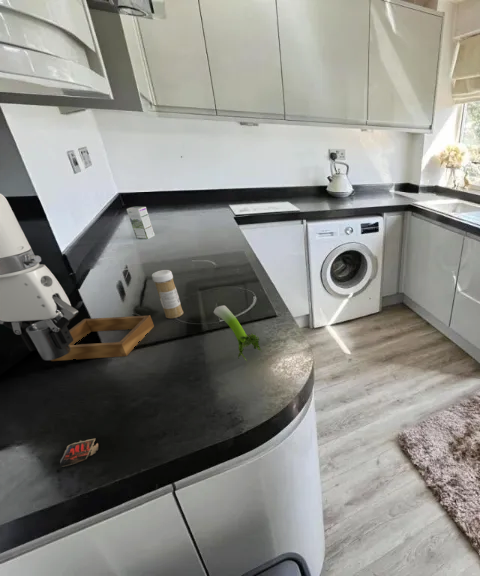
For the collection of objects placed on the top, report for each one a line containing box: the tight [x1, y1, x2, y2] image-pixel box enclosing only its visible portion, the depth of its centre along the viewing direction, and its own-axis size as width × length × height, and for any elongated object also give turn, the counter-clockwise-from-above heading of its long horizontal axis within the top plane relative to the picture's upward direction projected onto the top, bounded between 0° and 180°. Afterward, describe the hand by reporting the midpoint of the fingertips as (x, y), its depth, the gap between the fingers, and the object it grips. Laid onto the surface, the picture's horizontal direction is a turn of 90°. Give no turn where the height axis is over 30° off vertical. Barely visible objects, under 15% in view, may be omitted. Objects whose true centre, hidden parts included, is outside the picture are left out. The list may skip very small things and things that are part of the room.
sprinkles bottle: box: [151, 269, 184, 320], centre depth 90 cm, size 5×5×14 cm
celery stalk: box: [213, 305, 263, 362], centre depth 83 cm, size 6×7×30 cm
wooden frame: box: [50, 315, 155, 362], centre depth 80 cm, size 16×13×4 cm
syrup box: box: [126, 206, 156, 240], centre depth 154 cm, size 6×6×14 cm
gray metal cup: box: [26, 319, 71, 361], centre depth 65 cm, size 4×4×7 cm
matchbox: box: [59, 437, 99, 468], centre depth 54 cm, size 5×5×1 cm
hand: (52, 345), depth 66 cm, fingers closed on gray metal cup, 4 cm apart
